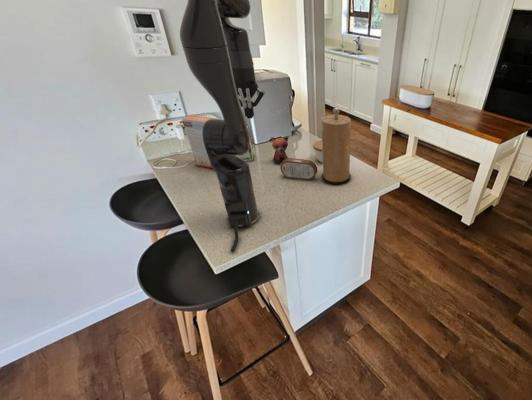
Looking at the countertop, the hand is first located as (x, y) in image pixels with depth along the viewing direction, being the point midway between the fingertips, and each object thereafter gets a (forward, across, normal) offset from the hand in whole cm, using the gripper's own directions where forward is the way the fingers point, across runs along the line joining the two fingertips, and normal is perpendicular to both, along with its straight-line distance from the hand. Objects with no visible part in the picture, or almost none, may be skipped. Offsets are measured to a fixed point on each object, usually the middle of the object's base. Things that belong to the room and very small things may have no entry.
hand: (250, 117), depth 101 cm
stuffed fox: (+25, +6, +18) cm, 31 cm away
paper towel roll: (+25, +31, +1) cm, 40 cm away
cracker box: (+25, -22, +11) cm, 35 cm away
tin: (+25, +16, +1) cm, 30 cm away
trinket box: (+25, +26, +18) cm, 40 cm away
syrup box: (+25, -10, +18) cm, 33 cm away
